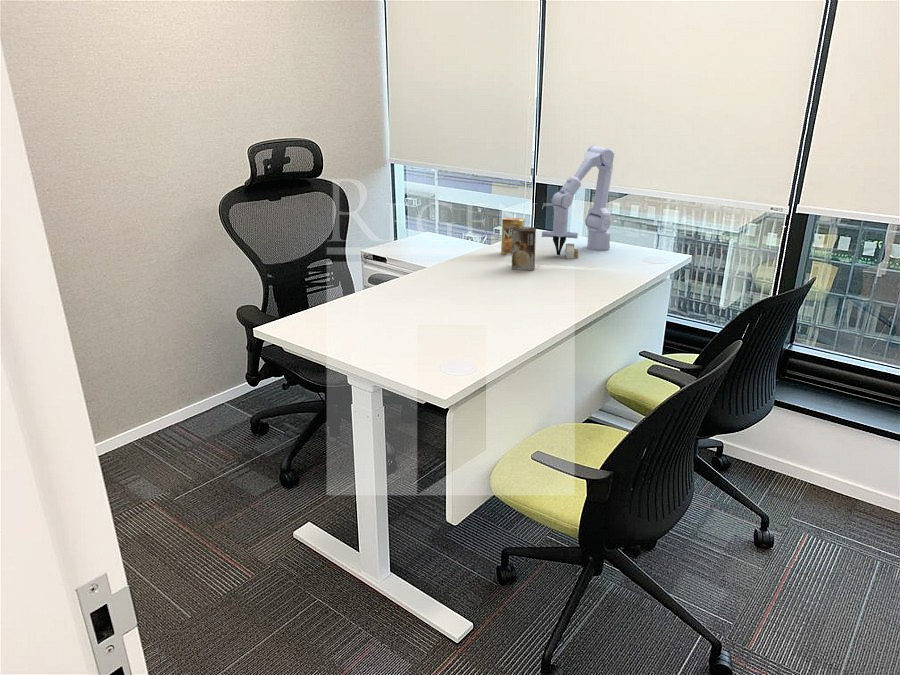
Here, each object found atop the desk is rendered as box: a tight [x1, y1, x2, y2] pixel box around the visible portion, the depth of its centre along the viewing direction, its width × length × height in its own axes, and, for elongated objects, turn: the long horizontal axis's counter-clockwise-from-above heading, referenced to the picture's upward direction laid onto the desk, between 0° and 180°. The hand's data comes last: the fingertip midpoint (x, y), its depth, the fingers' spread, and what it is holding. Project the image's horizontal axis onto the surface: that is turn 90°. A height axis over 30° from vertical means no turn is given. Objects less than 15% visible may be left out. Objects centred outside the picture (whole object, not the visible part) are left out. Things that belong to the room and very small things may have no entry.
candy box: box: [500, 216, 526, 255], centre depth 300 cm, size 9×4×15 cm, turn 70°
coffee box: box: [511, 226, 537, 271], centre depth 282 cm, size 9×6×16 cm
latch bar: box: [565, 243, 575, 260], centre depth 297 cm, size 13×4×3 cm, turn 172°
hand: (558, 254), depth 295 cm, fingers closed
